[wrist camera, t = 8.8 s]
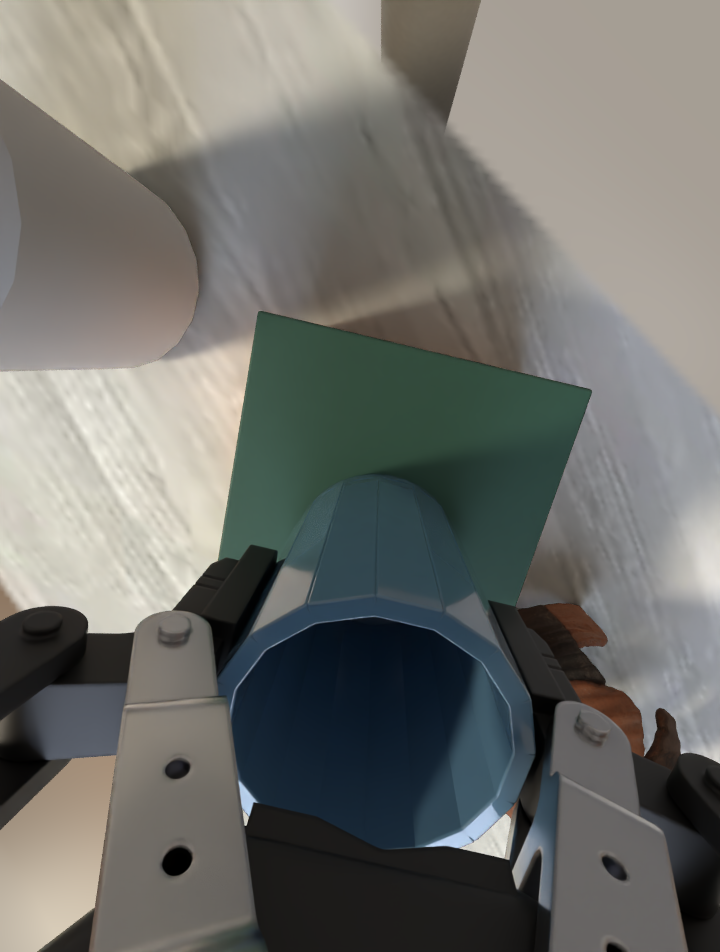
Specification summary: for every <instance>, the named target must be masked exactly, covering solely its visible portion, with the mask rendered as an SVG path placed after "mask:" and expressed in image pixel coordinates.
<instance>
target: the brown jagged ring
mask: <svg viewBox="0 0 720 952" xmlns="http://www.w3.org/2000/svg"><path fill="white" fill-rule="evenodd" d="M517 611H518V612H519V614H520V616H521V618H522V620H523V621H524V623H525V625H526V627H527V628H530V629H532V630H533V631H535V632H536V633H537V634H538V635H539V636H540V637H541V638H542V639H543V640H544V641H545V642H546V643H547V644H548V646H549V648H550V649H551V651H552V653H553V655H554V656H555V657H554V659H556V660H557V661H558V663H559V665H560V666H561V671H564V673H565V675H566V677H567V678H568V680H569V682H570V683H571V685H572V687H573V688H574V690H575V692H576V693H577V695H578V697H579V698H580V700H581V702H582V703H583V704H586V705H588V706H590V707H592V708H594V709H596V710H598V711H599V712H601V713H603V714H604V715H606V716H607V717H608V718H610V719H611V720H612V721H613V722H614V723H616V724H617V725H618V726H619V727H620V729H621V730H622V731H623V732H624V733H625V735H626V736H627V738H628V740H629V742H630V745H631V751H632V752H634V753H636V754H638V755H640V756H642V757H644V758H646V759H649V760H651V761H653V762H655V763H657V764H660V765H662V766H664V767H666V768H668V769H671V770H672V769H673V767H674V765H675V763H676V761H677V759H678V757H679V756H680V755H681V752H680V748H681V746H680V740H679V738H678V734H677V730H676V721H675V719H674V718H673V717H672V716H671V715H670V714H669V713H668V712H667V711H666V710H665V709H662V708H659V709H657V711H656V714H655V717H656V724H657V731H656V733H655V737H654V741H653V744H652V746H651V747H650V749H649V750H648V752H647V753H646V755H645V756H644V751H645V747H644V744H643V738H644V734H643V727H642V718H641V713H640V710H639V709H638V708H637V707H636V706H635V705H634V703H633V701H632V700H631V699H630V698H629V697H628V696H627V695H626V694H625V693H624V692H622V691H620V690H617V689H615V688H613V687H608V686H606V685H605V679H604V677H603V676H602V675H601V674H600V672H599V671H598V669H597V668H596V667H595V666H594V665H593V664H592V663H591V662H590V660H589V659H588V657H587V656H586V655H585V654H584V653H583V652H582V651H581V650H580V649H579V648H583V647H585V646H586V647H589V646H601V647H603V646H605V645H606V643H607V641H608V639H607V636H606V635H605V633H604V632H603V630H602V629H601V628H600V627H599V626H598V625H597V624H596V623H595V622H594V621H593V620H592V619H591V618H590V617H589V616H588V615H587V614H586V613H585V611H584V610H583V609H582V608H581V607H580V606H578V605H573V604H569V603H566V604H562V603H556V604H548V605H544V606H543V605H539V606H534V607H530V608H525V609H523V608H522V609H518V610H517ZM515 804H516V803H515ZM515 804H514V806H513V807H512V808H511V809H510V810H509V811H508V812H507V813H506V814H507V815H508V816H509V817H510V818H512V813H513V809H514V807H515Z"/></svg>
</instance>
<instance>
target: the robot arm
mask: <svg viewBox="0 0 720 952" xmlns="http://www.w3.org/2000/svg"><path fill="white" fill-rule="evenodd" d="M277 556H278V551H277V550H274V549H269V548H265V547H261V546H256V545H252V544H251V545H250V546H249V547H248V549H247V550H246V551H245V553H244V554H243V555H242V557H241V558H240V560H236V559H232V558H227V557H226V558H224V559H221V560H219V561H217V562H215V563H213V564H211V565H210V566H209V567H208V569H207V570H206V571H205V572H204V573H203V575H202V576H201V577H200V578H199V579H198V580H197V582H196V584H195V585H193V586H192V588H191V589H190V590H189V591H188V592H187V593H186V595H185V596H184V597H183V598H182V599H181V601H180V602H179V603H178V604H177V605H176V607H175V608H174V609H173V610H172V611H164V612H160V613H156V614H153V615H151V616H149V617H147V618H145V619H144V620H142V621H141V622H140V623H139V624H138V626H137V627H136V629H135V632H133V633H122V634H103V633H87V632H88V620H87V618H86V617H85V616H84V615H83V614H82V613H81V612H79V611H77V610H75V609H71V608H67V607H60V606H45V607H37V608H32V609H28V610H24V611H21V612H18V613H16V614H14V615H11V616H9V617H7V618H5V619H4V620H2V621H0V830H1V829H2V828H3V827H4V825H6V824H7V823H8V822H9V821H10V820H11V819H12V818H13V817H14V816H15V815H16V814H17V813H18V812H19V811H20V810H21V809H22V808H23V807H24V806H25V805H26V804H27V803H28V802H29V801H30V800H31V799H32V798H33V797H34V796H35V795H36V794H37V793H38V792H39V791H40V790H41V789H42V788H43V787H44V786H45V785H46V784H48V782H50V780H52V778H54V777H55V776H56V774H58V773H59V772H60V771H61V770H62V769H63V768H64V767H65V766H66V765H67V764H68V763H69V761H70V760H71V759H72V758H84V757H97V756H111V755H116V762H115V769H114V777H113V783H112V791H111V797H110V805H109V812H108V819H107V826H106V833H105V840H104V847H103V854H102V861H101V869H100V875H99V882H98V890H97V896H96V903H95V908H94V909H92V910H91V911H90V912H88V913H87V914H86V915H85V916H83V917H82V918H80V919H79V920H78V921H77V922H75V923H74V924H73V925H72V926H70V927H69V928H67V929H66V930H65V931H64V932H62V933H61V934H60V935H58V936H57V937H56V938H55V939H53V940H52V941H51V942H49V943H48V944H47V945H45V946H44V947H43V948H42V949H40V950H39V951H37V952H720V764H719V763H717V762H716V761H713V760H711V759H709V758H707V757H704V756H701V755H698V754H694V753H684V754H681V755H680V756H679V757H678V759H677V761H676V763H675V765H674V767H673V769H672V770H671V769H668V768H666V767H664V766H662V765H660V764H657V763H655V762H653V761H651V760H649V759H646V758H644V757H642V756H640V755H638V754H636V753H634V752H632V751H631V745H630V742H629V740H628V738H627V736H626V735H625V733H624V732H623V731H622V730H621V729H620V727H619V726H618V725H617V724H616V723H614V722H613V721H612V720H611V719H610V718H608V717H607V716H606V715H604V714H603V713H601V712H599V711H598V710H596V709H594V708H592V707H590V706H588V705H586V704H583V703H582V702H581V700H580V698H579V697H578V695H577V693H576V692H575V690H574V688H573V687H572V685H571V683H570V682H569V680H568V678H567V677H566V675H565V673H564V671H561V666H560V665H559V663H558V661H557V660H556V659H554V657H555V656H554V655H553V653H552V651H551V649H550V648H549V646H548V644H547V643H546V642H545V641H544V640H543V639H542V638H541V637H540V636H539V635H538V634H537V633H536V632H535V631H533V630H532V629H530V628H527V627H526V625H525V623H524V621H523V620H522V618H521V616H520V614H519V612H518V611H517V609H516V607H515V606H511V605H507V604H503V603H498V602H494V601H490V600H488V602H489V605H490V607H491V609H492V611H493V614H494V616H495V618H496V620H497V623H498V625H499V627H500V629H501V632H502V634H503V636H504V638H505V641H506V643H507V645H508V647H509V650H510V652H511V654H512V656H513V659H514V661H515V663H516V665H517V668H518V670H519V672H520V674H521V676H522V679H523V681H524V683H525V685H526V688H527V690H528V692H529V694H530V698H531V700H532V709H533V720H534V732H535V743H536V754H535V759H534V761H533V764H532V766H531V768H530V771H529V773H528V776H527V778H526V780H525V783H524V785H523V788H522V790H521V792H520V795H519V797H518V800H517V802H516V804H515V807H514V809H513V813H512V818H511V824H510V829H509V835H508V841H507V847H506V853H505V859H503V858H499V857H494V856H490V855H485V854H481V853H477V852H472V851H468V850H463V849H459V848H454V847H450V846H435V847H419V848H404V849H381V848H378V847H375V846H373V845H371V844H369V843H367V842H366V841H364V840H362V839H360V838H358V837H356V836H354V835H352V834H350V833H348V832H346V831H344V830H342V829H340V828H338V827H336V826H335V825H333V824H331V823H329V822H327V821H325V820H323V819H321V818H319V817H317V816H313V815H309V814H304V813H300V812H296V811H291V810H287V809H282V808H278V807H273V806H269V805H265V804H260V803H256V802H253V806H252V809H251V813H250V816H249V820H248V823H247V826H244V819H243V811H242V803H241V795H240V788H239V780H238V772H237V764H236V756H235V749H234V741H233V733H232V725H231V718H230V710H229V703H228V699H227V696H226V695H222V696H219V694H218V684H217V676H218V674H219V672H220V670H221V668H222V666H223V665H224V663H225V661H226V659H227V657H228V655H229V653H230V651H231V649H232V647H233V645H234V643H235V642H236V640H237V638H238V636H239V634H240V632H241V630H242V628H243V626H244V624H245V622H246V620H247V618H248V617H249V615H250V613H251V611H252V609H253V607H254V605H255V603H256V601H257V599H258V597H259V595H260V594H261V592H262V590H263V588H264V586H265V584H266V582H267V580H268V578H269V576H270V574H271V572H272V570H273V569H274V567H275V565H276V562H277Z"/></svg>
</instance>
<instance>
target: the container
mask: <svg viewBox="0 0 720 952" xmlns="http://www.w3.org/2000/svg"><path fill="white" fill-rule="evenodd" d="M591 394H592V390H591V389H587V388H583V387H579V386H575V385H570V384H566V383H562V382H558V381H554V380H549V379H545V378H541V377H537V376H533V375H528V374H524V373H520V372H516V371H512V370H507V369H503V368H499V367H495V366H491V365H486V364H482V363H478V362H474V361H470V360H466V359H461V358H457V357H453V356H449V355H445V354H440V353H436V352H432V351H428V350H424V349H419V348H415V347H411V346H407V345H403V344H398V343H394V342H390V341H386V340H382V339H377V338H373V337H369V336H365V335H361V334H356V333H352V332H348V331H344V330H340V329H335V328H331V327H327V326H323V325H319V324H314V323H310V322H306V321H302V320H298V319H293V318H289V317H285V316H281V315H277V314H272V313H268V312H264V311H259V312H258V315H257V322H256V328H255V334H254V340H253V347H252V353H251V359H250V365H249V371H248V378H247V384H246V390H245V396H244V402H243V409H242V415H241V421H240V427H239V433H238V440H237V446H236V452H235V458H234V464H233V471H232V477H231V483H230V489H229V496H228V502H227V508H226V514H225V520H224V527H223V533H222V539H221V545H220V551H219V558H218V561H219V560H221V559H224V558H226V557H227V558H232V559H236V560H240V558H241V557H242V555H243V554H244V553H245V551H246V550H247V549H248V547H249V546H250V545H251V544H252V545H256V546H261V547H265V548H269V549H274V550H277V551H278V556H277V561H278V559H279V557H280V555H281V553H282V551H283V549H284V547H285V546H286V544H287V542H288V540H289V538H290V536H291V534H292V532H293V530H294V528H295V526H296V524H297V523H298V522H299V520H300V519H301V518H302V516H303V514H304V512H305V511H306V509H307V508H308V506H309V505H310V504H311V503H312V502H313V500H314V499H315V498H316V497H317V496H319V495H320V494H321V493H322V492H323V491H325V490H326V489H327V488H329V487H330V486H332V485H334V484H336V483H338V482H340V481H342V480H345V479H348V478H351V477H356V476H360V475H369V474H380V475H389V476H395V477H398V478H402V479H405V480H407V481H410V482H412V483H414V484H416V485H418V486H419V487H421V488H423V489H424V490H426V491H427V492H428V493H429V494H431V495H432V496H433V497H434V498H435V499H436V500H437V501H438V502H439V503H440V504H441V506H442V507H443V509H444V510H445V511H446V513H447V515H448V516H449V518H450V520H451V522H452V524H453V526H454V528H455V529H456V531H457V533H458V535H459V537H460V540H461V542H462V544H463V546H464V549H465V551H466V553H467V555H468V557H469V560H470V562H471V564H472V566H473V569H474V571H475V573H476V575H477V578H478V580H479V582H480V584H481V587H482V589H483V591H484V593H485V596H486V598H487V600H490V601H494V602H498V603H503V604H507V605H511V606H516V603H517V600H518V597H519V595H520V592H521V589H522V586H523V584H524V581H525V578H526V575H527V572H528V570H529V567H530V564H531V561H532V558H533V556H534V553H535V550H536V547H537V544H538V542H539V539H540V536H541V533H542V530H543V528H544V525H545V522H546V519H547V517H548V514H549V511H550V508H551V505H552V503H553V500H554V497H555V494H556V491H557V489H558V486H559V483H560V480H561V477H562V475H563V472H564V469H565V466H566V464H567V461H568V458H569V455H570V452H571V450H572V447H573V444H574V441H575V438H576V436H577V433H578V430H579V427H580V424H581V422H582V419H583V416H584V413H585V410H586V408H587V405H588V402H589V399H590V397H591ZM276 563H277V562H276Z"/></svg>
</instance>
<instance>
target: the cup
mask: <svg viewBox="0 0 720 952" xmlns="http://www.w3.org/2000/svg"><path fill="white" fill-rule="evenodd" d="M217 684H218V694H219V696H222V695H226V696H227V699H228V703H229V710H230V718H231V725H232V733H233V741H234V749H235V756H236V764H237V772H238V780H239V788H240V795H241V803H242V809H243V810H244V812H245V813H246V814H247V815H248V816H250V813H251V809H252V806H253V802H256V803H260V804H265V805H269V806H273V807H278V808H282V809H287V810H291V811H296V812H300V813H304V814H309V815H313V816H317V817H319V818H321V819H323V820H325V821H327V822H329V823H331V824H333V825H335V826H336V827H338V828H340V829H342V830H344V831H346V832H348V833H350V834H352V835H354V836H356V837H358V838H360V839H362V840H364V841H366V842H367V843H369V844H371V845H373V846H375V847H378V848H381V849H404V848H419V847H435V846H450V847H454V848H461V847H463V846H466V845H468V844H471V843H473V842H474V840H478V839H479V838H480V837H481V836H482V835H483V834H484V833H485V832H486V831H487V830H488V829H489V828H491V827H492V826H493V825H494V824H495V823H496V822H497V821H498V820H499V819H500V818H501V817H502V816H503V815H505V814H506V813H507V812H508V811H509V810H510V809H511V808H512V807H513V806H514V804H515V803H516V802H517V800H518V797H519V795H520V792H521V790H522V788H523V785H524V783H525V780H526V778H527V776H528V773H529V771H530V768H531V766H532V764H533V761H534V759H535V754H536V743H535V732H534V720H533V709H532V700H531V698H530V694H529V692H528V690H527V688H526V685H525V683H524V681H523V679H522V676H521V674H520V672H519V670H518V668H517V665H516V663H515V661H514V659H513V656H512V654H511V652H510V650H509V647H508V645H507V643H506V641H505V638H504V636H503V634H502V632H501V629H500V627H499V625H498V623H497V620H496V618H495V616H494V614H493V611H492V609H491V607H490V605H489V602H488V600H487V598H486V596H485V593H484V591H483V589H482V587H481V584H480V582H479V580H478V578H477V575H476V573H475V571H474V569H473V566H472V564H471V562H470V560H469V557H468V555H467V553H466V551H465V549H464V546H463V544H462V542H461V540H460V537H459V535H458V533H457V531H456V529H455V528H454V526H453V524H452V522H451V520H450V518H449V516H448V515H447V513H446V511H445V510H444V509H443V507H442V506H441V504H440V503H439V502H438V501H437V500H436V499H435V498H434V497H433V496H432V495H431V494H429V493H428V492H427V491H426V490H424V489H423V488H421V487H419V486H418V485H416V484H414V483H412V482H410V481H407V480H405V479H402V478H398V477H395V476H389V475H380V474H369V475H360V476H356V477H351V478H348V479H345V480H342V481H340V482H338V483H336V484H334V485H332V486H330V487H329V488H327V489H326V490H325V491H323V492H322V493H321V494H320V495H319V496H317V497H316V498H315V499H314V500H313V502H312V503H311V504H310V505H309V506H308V508H307V509H306V511H305V512H304V514H303V516H302V518H301V519H300V520H299V522H298V523H297V524H296V526H295V528H294V530H293V532H292V534H291V536H290V538H289V540H288V542H287V544H286V546H285V547H284V549H283V551H282V553H281V555H280V557H279V559H278V561H277V563H276V565H275V567H274V569H273V570H272V572H271V574H270V576H269V578H268V580H267V582H266V584H265V586H264V588H263V590H262V592H261V594H260V595H259V597H258V599H257V601H256V603H255V605H254V607H253V609H252V611H251V613H250V615H249V617H248V618H247V620H246V622H245V624H244V626H243V628H242V630H241V632H240V634H239V636H238V638H237V640H236V642H235V643H234V645H233V647H232V649H231V651H230V653H229V655H228V657H227V659H226V661H225V663H224V665H223V666H222V668H221V670H220V672H219V674H218V676H217Z"/></svg>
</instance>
